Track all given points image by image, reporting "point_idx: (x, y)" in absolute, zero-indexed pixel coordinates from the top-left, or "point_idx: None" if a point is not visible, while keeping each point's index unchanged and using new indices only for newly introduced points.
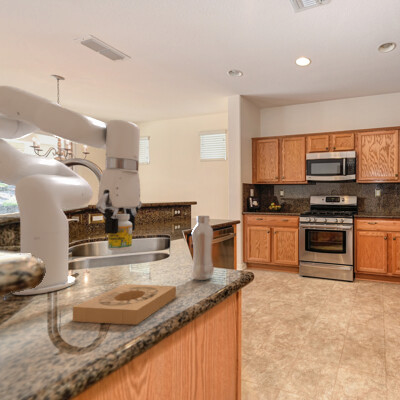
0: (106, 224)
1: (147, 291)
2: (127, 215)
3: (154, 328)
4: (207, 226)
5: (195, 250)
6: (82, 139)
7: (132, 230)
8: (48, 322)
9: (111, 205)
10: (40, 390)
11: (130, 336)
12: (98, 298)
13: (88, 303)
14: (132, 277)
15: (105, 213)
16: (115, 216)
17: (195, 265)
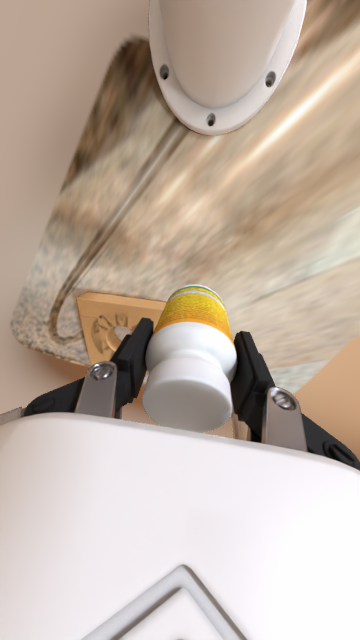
0: (118, 350)
1: None
2: (181, 428)
3: None
4: None
5: (237, 417)
6: None
7: None
8: (77, 263)
9: (171, 441)
10: (19, 341)
11: (82, 358)
12: (105, 310)
13: (89, 309)
14: (276, 257)
15: (69, 400)
16: (118, 407)
17: (230, 391)
